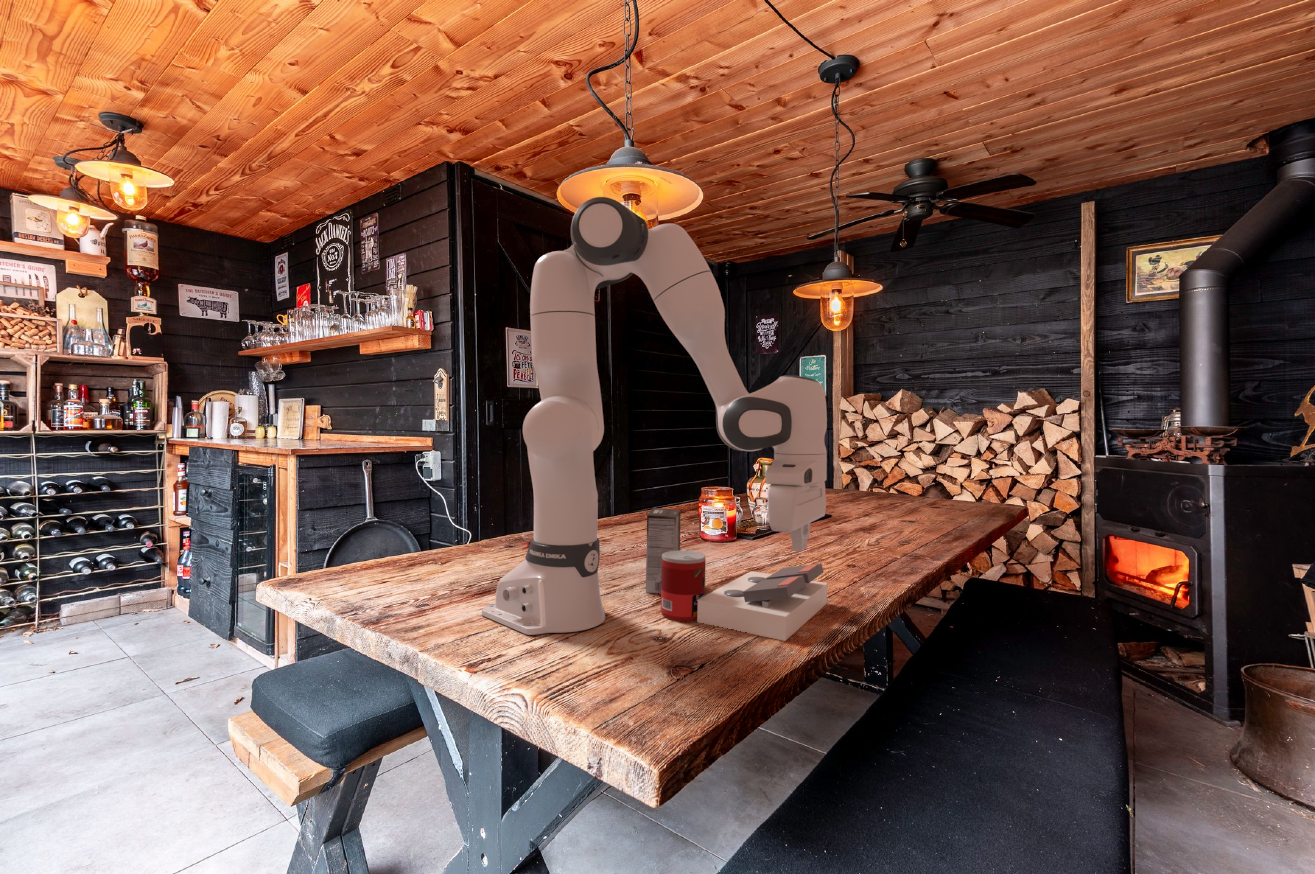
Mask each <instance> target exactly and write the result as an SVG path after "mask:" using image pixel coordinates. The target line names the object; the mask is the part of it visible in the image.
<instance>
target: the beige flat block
mask: <svg viewBox="0 0 1315 874" xmlns="http://www.w3.org/2000/svg"><path fill="white" fill-rule="evenodd" d="M772 574H773V573H767V572H766V573H765V572H764V573H763V572H759V571H752V570H751V571H749V572H747V573H744V574H743V575H741V576H739V577H737V578H736V579H734V580H732V581H730V582H728V583H726V584H724V585H722V586H721V587H719V588H717V589H715V590H713V591H711V592H709V593H707V594H705V596H704V597H702V598H700V599H698V612H697V620H696V621H697V623H699V624H703V623H704V625H709V626H713V625H714V626H713V627H717V626H719V627H718V628H722V627H723V629H727V628H728V630H731V629H734V630H733V631H736V630H737V632H740V631H741V632H742V633H745V632H747V633H746V634H750V635H753V636H754V635H755V636H760V637H764V638H768V639H769V638H770V639H774V640H779V641H782V642H786V641H787V640H788V639H789V638H790V637H791V636H792V635H794V634H795V633H796V632H797V631H799V629H800V628H801V627H803V626H804V625H805V624H806V623H807V622H808V621H809V620H810V619H811V618H813V616H815V615H816V614H817V613H818V612H819V611H820V610H822V608H824V606H826V605H827V604H828V582H822V581H816V580H813V581H811V582H810V583H805V584H806V586H804V587H803V588H802V589H800V590H799V591H798V592H796V593H795V594H793V595H792V596H791V597H789V598H783V599H773V600H762V601H752V602H745V599H744V595H743V591H745V590H747V589H748V588H750V587H752V586H753V585H755V584H757V583H758V582H760V581H762V580H767V579H766V578H767V577H769V576H770V575H772Z"/></svg>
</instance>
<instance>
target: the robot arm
mask: <svg viewBox="0 0 1315 874" xmlns="http://www.w3.org/2000/svg"><path fill="white" fill-rule="evenodd" d="M570 238H571V246H570V247H568V248H567V249H564V250H556V251H551V252H547V253H545V254H543V255H542V256H540V257H539V258H538V259H537V261H536V262H535V264H534V267H533V272H532V278H531V286H530V300H529V301H530V302H529V309H530V310H529V313H530V315H529V317H530V318H529V319H530V340H531V341H530V342H531V363H532V367H533V368H534V372H535V376H536V379H537V385H538V390H539V394H540V395H539V396H540V401H539V402H538V403H536V404H535V405H534V406H532V408H531V409H530V410H529V411H528V412H527V414H526V415H525V417H524V419H523V424H522V435H523V440H524V443H525V445H526V449H527V457H528V465H529V472H530V476H531V477H530V478H531V483H532V489H533V490H532V491H533V537H532V539H531V540H530V541H526V542H525V541H524V542H522V543H521V545H522V547H521V548H520V549H521V550H526V549H527V551H526V554H525V557H524V558H525V559H524V560H523V561H522V562H520V563H519V564H517V565H516V566H515V567H514V568H513V569H511V570H510V571H509V572H507V573H506V574H505V575H504V576H502V577H501V578H500V580H498V583H497V586H496V591H495V600H494V601H492V602H490V603H487V605H485V606H484V607H483V608H482V609H481V616H483V617H485V618H487V619H490V620H493V621H495V622H497V623H499V624H502V625H504V626H506V627H508V628H510V629H513V630H515V631H518V632H520V633H522V634H524V635H528V636H531V635H532V636H535V635H542V634H550V633H551V634H553V633H555V634H556V633H572V632H573V633H574V632H579V631H580V632H581V631H586V630H589V629H592V628H595V627H598V626H599V625H601V624H602V623H603V622H605V620H606V613H605V610H604V606H603V603H602V597H601V589H600V582H599V571H598V570H599V565H600V559H601V558H600V557H601V555H600V554H601V553H600V552H601V551H600V549H601V548H600V538H598V517H599V516H598V514H599V513H598V512H599V511H598V509H599V508H598V507H599V506H598V505H599V501H598V500H599V499H598V497H599V493H598V489H597V485H596V476H595V464H594V451H596V449H597V448H598V447H599V445H600V444H601V442H602V440H603V436H604V434H605V424H604V423H605V422H604V413H603V402H602V401H603V400H602V394H601V393H602V392H601V384H600V378H599V373H598V372H599V370H598V363H597V343H596V342H597V341H596V338H597V337H596V317H595V316H596V315H595V314H596V312H595V292H596V290H600V289H603V288H606V287H607V286H610V285H611V286H612V285H614V284H617V283H620V282H623V281H625V280H627V279H629V278H630V277H631V276H632V275H633V274H634V275H636V276H638V278H640V279H641V281H642V282H643V283H644V285H645V286H646V289H647V290H648V293H649V295H650V297H651V299H652V301H653V303H654V304H655V307H656V309H657V311H658V312H659V314H660V316H661V317H662V320H663V321H664V322H665V324H666V325H667V326H668V328H669V330H670V331H671V333H672V334H673V335H674V336H675V338H676V339H677V340H678V341H679V343H680V344H681V345H682V346H683V348H684V349H685V350H686V351H687V353H688V354H689V356H690V357H691V358H692V360H693V361H694V363H695V364H696V366H697V368H698V370H699V373H700V375H701V377H702V379H703V381H704V383H705V385H706V388H707V390H708V392H709V394H710V396H711V398H712V399H711V400H712V401H713V403H714V406H715V407H714V408H715V424H716V431H717V434H718V436H719V438H720V439H721V441H722V443H724V444H725V445H726V446H728V447H729V448H730V449H732V450H736V451H741V452H743V451H744V452H756V451H761V450H763V449H766V448H773V451H774V452H773V461H772V463H771V464H770V466H769V467H768V469H767V470H766V471H765V474H764V479H765V480H764V481H765V484H767V485H769V486H768V489H767V514H768V524H769V526H770V529H771V531H773V532H780V533H789V535H790V539H791V548H792V551H793V552H802V551H804V550H806V549H807V548H808V538H809V534H810V531H811V523H812V522H815V521H817V520H819V519H820V518H822V517H825V515H826V511H827V499H826V498H827V497H826V481H827V479H828V478H827V476H828V475H827V467H828V466H827V464H828V463H827V461H828V460H827V457H828V455H827V448H826V444H825V437H826V436H825V435H826V433H827V428H828V424H827V423H828V417H827V415H828V414H827V413H828V411H827V401H826V400H827V399H826V394H825V390H824V387H823V385H822V384H821V383H820V382H819V381H817V380H816V379H813V378H811V377H807V376H800V375H793V374H790V375H789V374H786V375H782V376H779V377H778V378H777V379H776V380H774V381H773V382H772V383H770V384H767V385H766V386H764V387H762V388H760V389H757V390H756V391H754V392H753V391H752V392H751V393H750V392H748V390H747V389H746V387H745V386H744V383H743V381H742V378H741V376H740V375H739V374H740V373H738V370H737V368H736V365H735V364H734V362H733V359H732V357H731V355H730V353H729V349H728V345H727V343H726V334H725V321H726V320H725V319H726V315H725V314H726V312H725V311H726V310H725V306H724V302H723V299H722V296H721V291H720V289H719V286H718V283H717V281H716V279H715V276H714V274H713V273H712V270H711V268H710V266H709V264H708V263H707V261H706V259H705V258H704V256H703V254H702V252H701V251H700V250H699V248H698V246H697V244H696V243H695V242H694V240H693V239H692V237H691V236H690V235H689V233H688V232H687V231H686V230H685V229H684V228H683V227H682V226H680V225H679V224H676V223H663V224H659V225H655V226H654V227H651V228H649V227H648V224H647V221H646V219H644V218H643V217H641V216H640V215H638V214H636V213H635V212H633V211H632V210H631V209H629V208H628V207H627V206H625V205H624V204H622V203H621V202H619V201H618V200H616V199H613V198H611V197H606V196H597V197H592V198H589V199H587V200H586V201H584V202H583V203H582V204H581V205H580V206H579V207H578V208H577V209H576V211H575V213H574V215H573V216H572V220H571V225H570ZM523 545H524V546H523Z"/></svg>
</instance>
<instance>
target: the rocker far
mask: <svg viewBox="0 0 1315 874" xmlns="http://www.w3.org/2000/svg"><path fill="white" fill-rule="evenodd" d="M822 564H823V563H822V562H820V563H813V564H805V565H797V566H796V565H795V566H789V567H782V568H781V569H779V570H777V571H776V572H774V573H771V574H772V575H770V576H769V577H767V578H766V579H767V580H768V579H777V578H786V577H794V576H804V580H805V583H810V582H811V581H815V579H817V578H818V577H820V576H821V575H822V574H824V569H823V565H822Z"/></svg>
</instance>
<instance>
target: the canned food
mask: <svg viewBox="0 0 1315 874" xmlns="http://www.w3.org/2000/svg"><path fill="white" fill-rule="evenodd" d="M706 561H707V560H706V555H705V554H703V553H702V552H699V551H692V550H680V551H669V552H665V553H663V554H662V569H661V594H660V596H661V597H660V612H661V614H662V616H663V617H664V618H665V619H667V618H668V620H669V621H674V620H676V621H675V622H694V621H697V612H698V599H700V598H702V597H704V596H705V595H706V567H707V566H706Z"/></svg>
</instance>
